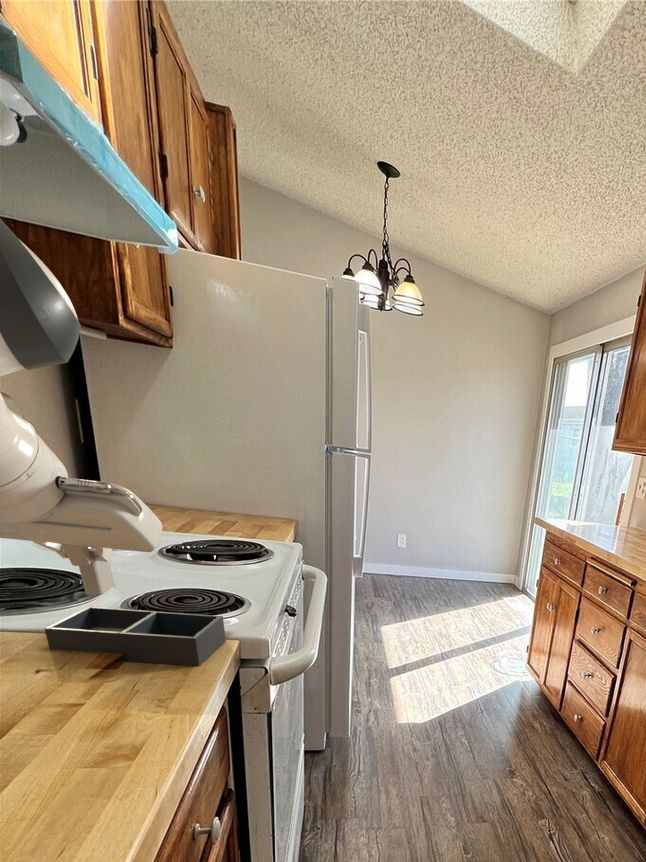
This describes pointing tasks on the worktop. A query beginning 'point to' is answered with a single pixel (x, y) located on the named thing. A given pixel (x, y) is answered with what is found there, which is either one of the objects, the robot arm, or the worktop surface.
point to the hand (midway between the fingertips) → (89, 555)
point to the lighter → (90, 569)
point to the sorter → (140, 635)
